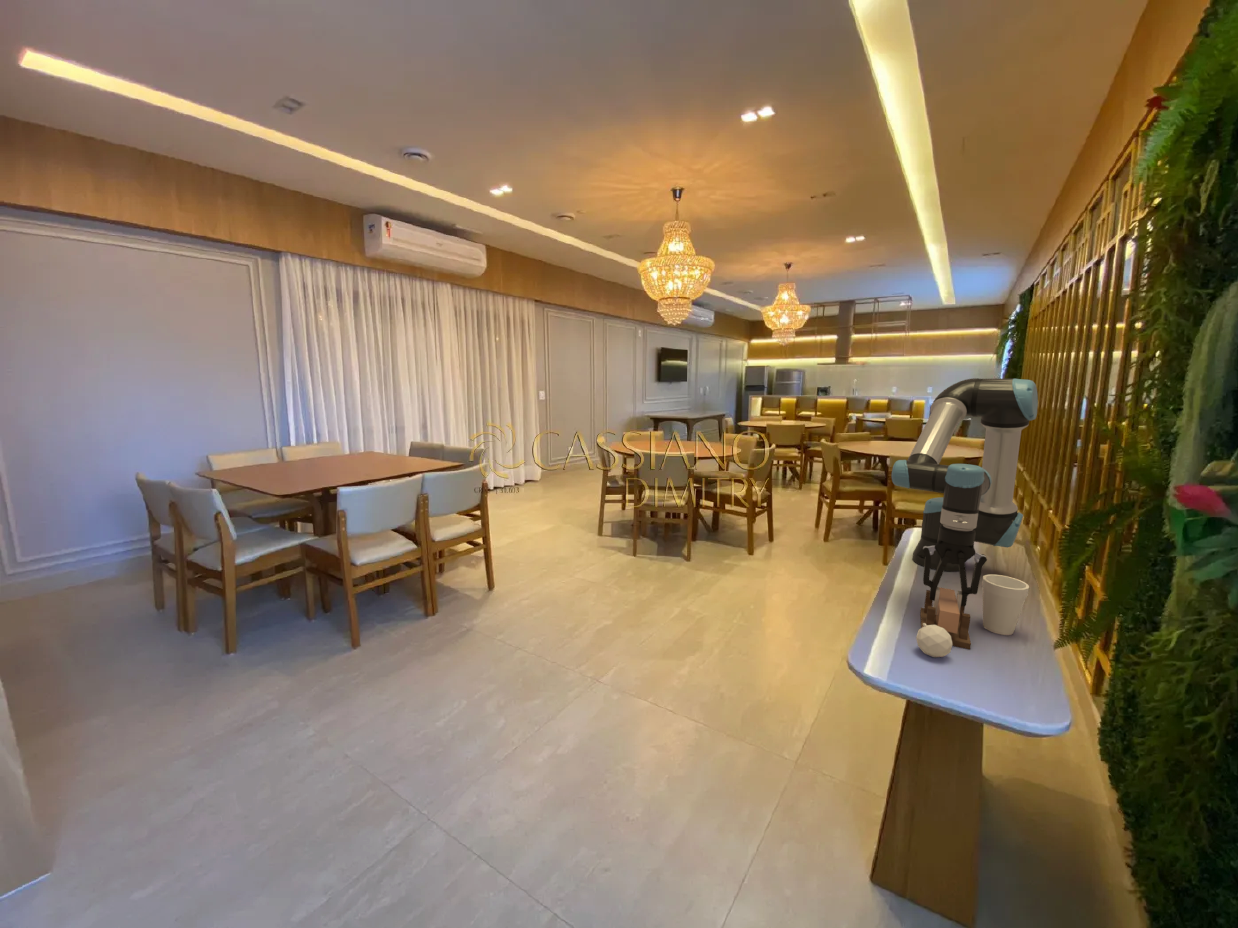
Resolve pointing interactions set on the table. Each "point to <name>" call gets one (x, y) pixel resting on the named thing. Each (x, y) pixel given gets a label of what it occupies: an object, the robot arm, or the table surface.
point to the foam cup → (1002, 603)
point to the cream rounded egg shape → (934, 640)
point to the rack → (958, 638)
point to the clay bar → (947, 610)
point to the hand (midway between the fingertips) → (945, 614)
